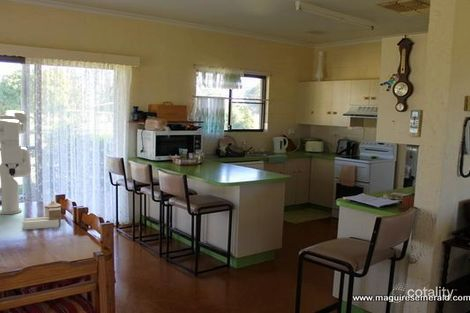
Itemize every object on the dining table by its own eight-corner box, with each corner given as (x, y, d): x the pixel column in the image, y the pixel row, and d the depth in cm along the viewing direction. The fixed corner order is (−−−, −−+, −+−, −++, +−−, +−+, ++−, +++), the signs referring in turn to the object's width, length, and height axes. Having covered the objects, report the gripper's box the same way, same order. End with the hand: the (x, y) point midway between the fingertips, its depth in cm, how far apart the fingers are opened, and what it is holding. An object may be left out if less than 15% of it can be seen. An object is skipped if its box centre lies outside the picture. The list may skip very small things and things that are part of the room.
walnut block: (49, 222, 240) (48, 208, 240) (60, 221, 243) (60, 207, 242) (49, 224, 236) (49, 210, 235) (60, 223, 238) (60, 209, 238)
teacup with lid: (63, 221, 249) (62, 201, 247) (46, 223, 243) (46, 203, 242) (58, 216, 258) (58, 197, 257) (42, 218, 253) (41, 199, 252)
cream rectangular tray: (23, 225, 237) (23, 218, 236) (58, 223, 244) (58, 216, 244) (22, 229, 229) (22, 222, 229) (58, 226, 237) (58, 219, 236)
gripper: (-5, 143, 229) (-4, 177, 231) (26, 143, 235) (27, 176, 238) (-4, 142, 236) (-3, 174, 238) (26, 142, 242) (27, 173, 244)
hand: (12, 175), depth 238 cm, fingers closed
